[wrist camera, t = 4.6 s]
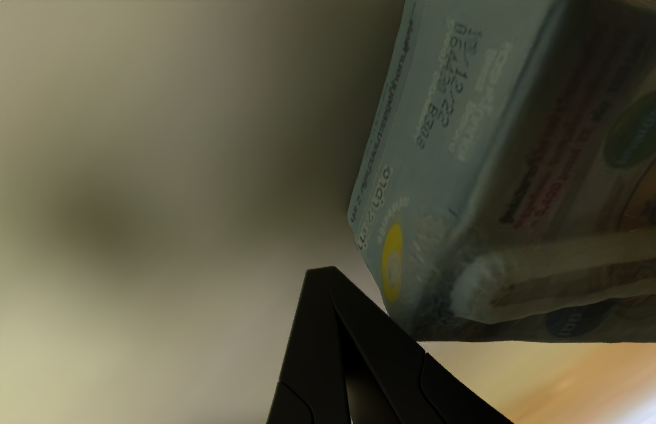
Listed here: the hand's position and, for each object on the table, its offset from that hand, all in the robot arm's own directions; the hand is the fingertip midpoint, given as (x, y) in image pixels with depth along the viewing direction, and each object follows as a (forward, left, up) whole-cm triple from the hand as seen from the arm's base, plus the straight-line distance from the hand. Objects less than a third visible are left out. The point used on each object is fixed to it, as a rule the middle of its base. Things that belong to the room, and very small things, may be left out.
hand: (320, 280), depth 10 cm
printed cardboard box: (+1, -11, -4) cm, 12 cm away
